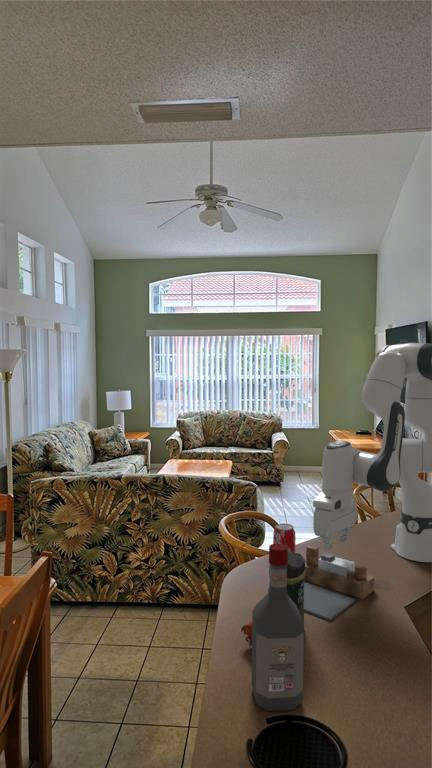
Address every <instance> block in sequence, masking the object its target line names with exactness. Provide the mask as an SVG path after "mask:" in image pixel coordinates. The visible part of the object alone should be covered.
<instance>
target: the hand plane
mask: <svg viewBox="0 0 432 768" xmlns="http://www.w3.org/2000/svg"><path fill="white" fill-rule="evenodd" d="M319 548H320V547H318V546H314V545H308V546H306V550H305V551H306V552H305V553H306V556H305V578H304V581H306V582H310V583H314V584H316V585H319V586H322V587H325V588H327V589H331V590H334V591H337V592H340V593H343V594H345V595H349V596H352V597H355V598H358V599H361V600H364V599H365V598H366V597H368V596H369V595H370V594H371V593H373V592H374V590H375V576H372V575H369V574H367V570H368V569H367V567H366V566H364V565H355V573H353V574H352V575H350V576H349V577H348V578H345V577H341V576H338V575H335V574H332V573H328V572H325V571H322V570H319V569H318V562H319Z"/></svg>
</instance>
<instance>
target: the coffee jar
mask: <svg viewBox="0 0 432 768" xmlns="http://www.w3.org/2000/svg"><path fill="white" fill-rule="evenodd" d="M305 562H306V558H305V557H304V556H303V555H302V554H301V553H297V552H295V553H294V552H290V551H288V564H287V593H288V596H289V597H290V598H291V600H292V601H293V602H294V603H295V604H296V606H297V608H298V610H299V612H300V614H301V616H302V619H303V622H304V623H305V611H304V582H305V580H304V578H305ZM268 574H269V578H270V566H269V570H268Z"/></svg>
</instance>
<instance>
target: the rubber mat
mask: <svg viewBox="0 0 432 768" xmlns="http://www.w3.org/2000/svg"><path fill="white" fill-rule="evenodd" d="M356 600H357V599H356V598H353V597H350V596H347V595H346V594H345V595H344V594H341V593H339V592H336V591H332V590H329V589H328V588H324V587H320V586H317V585H314V584H311V583H308V582H307V581H306V582H305V581H304V613H309V614H311V615H313V616H316V617H319V618H321V619H324V620H327V621H330V622H331V621H333V620H334V619H335V618H337V617H339V616H340V614H342V613H343V612H345V610H347V609H348V608H349V607H350V606H351V605H353V604H354V603H355V602H356Z"/></svg>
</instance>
